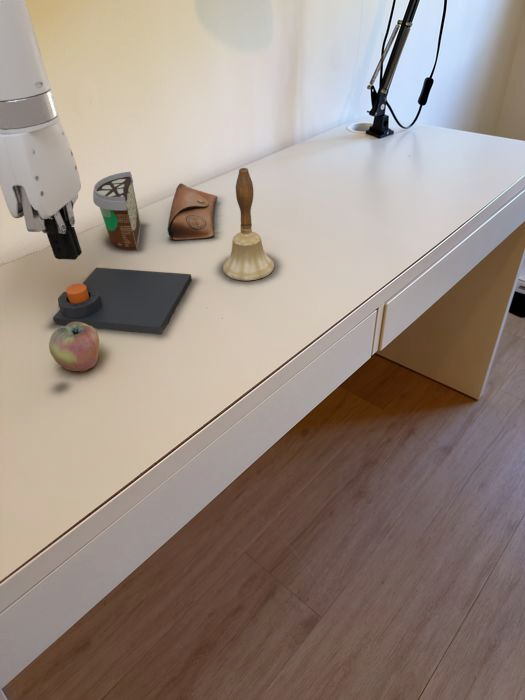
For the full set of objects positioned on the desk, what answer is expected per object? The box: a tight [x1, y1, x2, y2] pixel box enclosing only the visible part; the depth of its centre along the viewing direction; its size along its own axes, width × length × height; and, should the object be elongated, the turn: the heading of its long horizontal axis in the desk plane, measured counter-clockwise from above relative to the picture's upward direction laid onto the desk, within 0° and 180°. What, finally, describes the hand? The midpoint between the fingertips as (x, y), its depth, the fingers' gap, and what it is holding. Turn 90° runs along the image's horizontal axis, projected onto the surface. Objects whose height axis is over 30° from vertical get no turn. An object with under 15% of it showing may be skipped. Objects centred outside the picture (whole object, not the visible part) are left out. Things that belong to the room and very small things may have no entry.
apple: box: [48, 322, 100, 372], centre depth 66 cm, size 6×8×6 cm
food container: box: [92, 171, 142, 251], centre depth 92 cm, size 12×6×10 cm, turn 6°
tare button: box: [65, 282, 89, 304], centre depth 74 cm, size 3×3×2 cm
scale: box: [52, 267, 193, 335], centre depth 78 cm, size 16×14×3 cm
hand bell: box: [222, 167, 275, 282], centre depth 80 cm, size 8×8×16 cm
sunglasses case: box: [167, 182, 218, 241], centre depth 99 cm, size 18×7×7 cm
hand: (68, 256), depth 70 cm, fingers closed
